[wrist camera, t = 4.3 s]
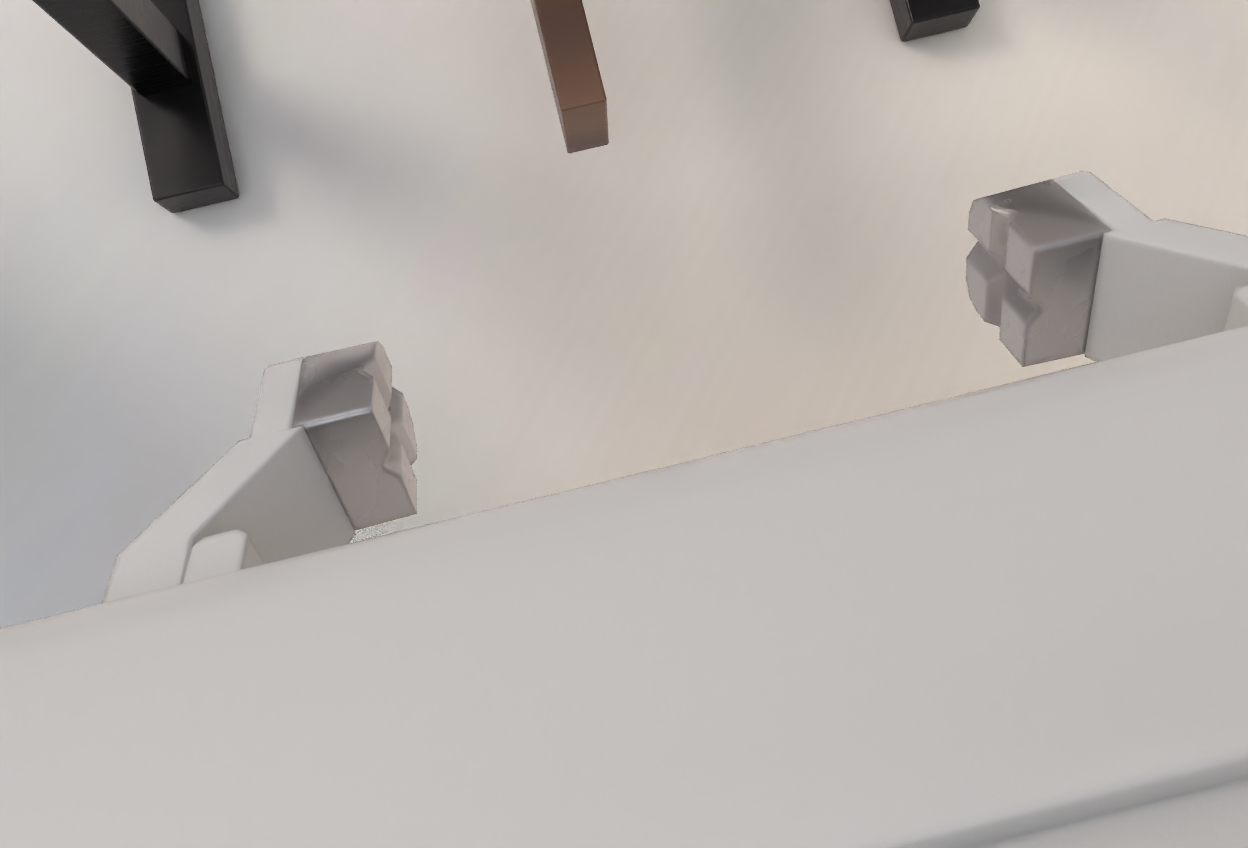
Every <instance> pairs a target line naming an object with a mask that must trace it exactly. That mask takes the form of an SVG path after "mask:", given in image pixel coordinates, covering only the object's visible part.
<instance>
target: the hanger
mask: <svg viewBox="0 0 1248 848" xmlns="http://www.w3.org/2000/svg"><path fill="white" fill-rule="evenodd" d="M531 4H532V8H533V12H534V16H535V20H536V24H537V28H538V33H539V37H540V41H541V45H542V49H543V53H544V57H545V61H546V65H547V70H548V74H549V78H550V82H551V86H552V90H553V94H554V98H555V102H556V107H557V111H558V115H559V119H560V123H561V127H562V131H563V135H564V139H565V144H566V148H567V152H568V153H573V152H577V151H582V150H586V149H590V148H594V147H599V146H603V145H607V144H608V143H609V139H608V121H607V102H606V96H605V92H604V88H603V84H602V80H601V76H600V72H599V68H598V64H597V59H596V55H595V51H594V47H593V43H592V39H591V35H590V31H589V27H588V23H587V19H586V15H585V11H584V7H583V3H582V0H531Z"/></svg>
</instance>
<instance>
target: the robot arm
mask: <svg viewBox="0 0 1248 848" xmlns="http://www.w3.org/2000/svg"><path fill="white" fill-rule="evenodd" d="M968 230H969V231H970V232H971V233H972V234H973V235H974V237H975V238H976V239H977V240H978V242H977V243H976V245H975V246H974V248H973V249H972V251H971V252H970V254H969V255H968V256H967V258H966V282H967V286H968V291H969V296H970V299H971V301H972V303H973V305H974V308H975V310H976V311H977V313H978V314H979V315H980V316H981V318H982V319H983V320H984V321H985V322H988V323H990V324H993V325H996V326H999V327H1000V339H999V340H1000V341H1001V342H1002V343H1003V344H1004V345H1005V347H1006V348H1007V349H1008V350H1009V351H1010V352H1011V354H1012V355H1013V356H1014V357H1015V358H1016V360H1017V361H1018V362H1019V363H1020V364H1021V365H1022V367H1024V366H1029V365H1034V364H1038V363H1043V362H1048V361H1052V360H1057V359H1062V358H1066V357H1071V356H1075V355H1080V354H1085V357H1088V358H1090V359H1092V360H1094V361H1096V362H1095V363H1091V364H1086V365H1082V366H1078V367H1074V368H1070V369H1066V370H1062V371H1058V372H1054V373H1049V374H1045V375H1041V376H1037V377H1033V378H1029V379H1025V380H1021V381H1016V382H1012V383H1008V384H1004V385H1000V386H996V387H992V388H988V389H984V390H979V391H975V392H971V393H967V394H963V395H959V396H955V397H951V398H947V399H942V400H938V401H934V402H930V403H926V404H922V405H918V406H914V407H909V408H905V409H901V410H897V411H893V412H889V413H885V414H881V415H877V416H872V417H868V418H864V419H860V420H856V421H852V422H848V423H844V424H839V425H835V426H831V427H827V428H823V429H819V430H815V431H811V432H807V433H802V434H798V435H794V436H790V437H786V438H782V439H778V440H774V441H769V442H765V443H761V444H757V445H753V446H749V447H745V448H741V449H736V450H732V451H728V452H724V453H720V454H716V455H712V456H708V457H704V458H699V459H695V460H691V461H687V462H683V463H679V464H675V465H671V466H666V467H662V468H658V469H654V470H650V471H646V472H642V473H638V474H634V475H629V476H625V477H621V478H617V479H613V480H609V481H605V482H601V483H596V484H592V485H588V486H584V487H580V488H576V489H572V490H568V491H563V492H559V493H555V494H551V495H547V496H543V497H539V498H535V499H531V500H526V501H522V502H518V503H514V504H510V505H506V506H502V507H498V508H493V509H489V510H485V511H481V512H477V513H473V514H469V515H465V516H460V517H456V518H452V519H448V520H444V521H440V522H436V523H432V524H428V525H423V526H419V527H415V528H411V529H407V530H403V531H399V532H395V533H391V534H386V535H382V536H378V537H374V538H370V539H366V540H362V541H358V542H353V543H350V541H351V540H352V538H353V537H354V535H355V534H356V533H355V530H358V529H362V528H366V527H369V526H373V525H377V524H380V523H384V522H388V521H392V520H395V519H399V518H403V517H406V516H410V515H414V514H417V479H416V477H415V474H414V472H413V469H412V467H411V465H412V464H413V463H414V461H415V460H416V459H417V444H416V438H415V432H414V427H413V422H412V419H411V416H410V412H409V409H408V406H407V404H406V401H405V398H404V396H403V393H401V392H400V391H398V390H396V389H395V388H393V387H392V366H391V364H390V361H389V359H388V357H387V355H386V352H385V350H384V348H383V346H382V345H381V344H380V343H379V342H378V341H377V342H372V343H367V344H363V345H358V346H354V347H349V348H345V349H340V350H335V351H331V352H326V353H322V354H317V355H313V356H308V357H306V358H303V357H301V358H297V359H293V360H290V361H286V362H282V363H278V364H274V365H270V366H269V367H267V368H266V369H265V370H264V374H263V378H262V383H261V388H260V392H259V397H258V402H257V406H256V411H255V416H254V421H253V425H252V430H251V435H250V438H249V439H245V440H241V441H238V442H237V443H236V444H235V445H234V446H233V447H232V448H231V449H230V450H229V451H228V452H227V453H226V454H225V455H224V456H223V457H221V458H220V459H219V460H218V461H217V462H216V463H215V464H214V465H213V466H212V467H211V468H210V469H209V470H208V471H207V472H206V473H204V474H203V475H202V476H201V477H200V478H199V479H198V480H197V481H196V482H195V483H194V484H193V485H192V486H191V487H190V488H189V489H187V490H186V491H185V492H184V493H183V494H182V495H181V496H180V497H179V498H178V499H177V500H176V501H175V502H174V503H173V504H171V505H170V506H169V507H168V508H167V509H166V510H165V511H164V512H163V513H162V514H161V515H160V516H159V517H158V518H157V519H156V520H154V521H153V522H152V523H151V524H150V525H149V526H148V527H147V528H146V529H145V530H144V531H143V532H142V533H141V534H140V535H139V536H137V537H136V538H135V539H134V540H133V541H132V542H131V543H130V544H129V545H128V546H127V547H126V548H125V549H124V550H123V551H122V552H120V553H119V554H118V555H117V558H116V561H115V564H114V567H113V570H112V573H111V576H110V579H109V582H108V585H107V588H106V591H105V594H104V597H103V600H102V603H101V604H98V605H94V606H89V607H85V608H81V609H77V610H73V611H69V612H65V613H61V614H56V615H52V616H48V617H44V618H40V619H36V620H32V621H28V622H23V623H19V624H15V625H11V626H7V627H3V628H0V848H1248V236H1245V235H1240V234H1235V233H1231V232H1226V231H1221V230H1216V229H1212V228H1207V227H1202V226H1197V225H1193V224H1188V223H1183V222H1178V221H1174V220H1169V219H1161V220H1156V221H1152V220H1151V219H1150V218H1149V217H1147V216H1146V215H1145V214H1143V213H1142V212H1141V211H1140V210H1138V209H1137V208H1136V207H1134V206H1133V205H1132V204H1131V203H1129V202H1128V201H1127V200H1125V199H1124V198H1123V197H1122V196H1120V195H1119V194H1118V193H1117V192H1115V191H1114V190H1113V189H1111V188H1110V187H1109V186H1108V185H1106V184H1105V183H1104V182H1102V181H1101V180H1100V179H1099V178H1097V177H1096V176H1095V175H1093V174H1092V173H1091V172H1085V171H1079V172H1075V173H1072V174H1068V175H1065V176H1061V177H1058V178H1054V179H1050V180H1047V181H1043V182H1039V183H1035V184H1032V185H1028V186H1024V187H1020V188H1017V189H1013V190H1009V191H1005V192H1002V193H998V194H994V195H990V196H986V197H983V198H979V199H976V200H973V202H972V205H971V208H970V211H969V222H968Z"/></svg>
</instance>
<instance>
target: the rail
mask: <svg viewBox="0 0 1248 848" xmlns="http://www.w3.org/2000/svg"><path fill="white" fill-rule="evenodd" d="M33 1H34V2H35V3H36V4H37V5H38V6H39V7H41V8H42V9H43V10H44V11H45V12H46V13H47V14H49V15H50V16H51V17H52V18H53V19H54V20H55V21H57V22H58V23H59V24H60V25H61V26H62V27H63V28H65V29H66V30H67V31H68V32H69V33H70V34H71V35H73V36H74V37H75V38H76V39H77V40H78V41H79V42H81V43H82V44H83V45H84V46H85V47H86V48H87V49H89V50H90V51H91V52H92V53H93V54H94V55H95V56H97V57H98V58H99V59H100V60H101V61H102V62H103V63H104V64H106V65H107V66H108V67H109V68H110V69H111V70H112V71H114V72H115V73H116V74H117V75H118V76H119V77H120V78H122V79H123V80H124V81H125V82H126V83H127V84H128V85H130V86H131V90H132V95H133V100H134V105H135V110H136V115H137V120H138V125H139V130H140V135H141V140H142V145H143V150H144V155H145V160H146V165H147V170H148V175H149V180H150V185H151V190H152V195H153V200H154V201H155V202H157V203H158V204H159V205H161V206H162V207H164V208H165V209H167V210H168V211H170V212H171V213H175V212H179V211H184V210H188V209H192V208H196V207H201V206H205V205H209V204H213V203H218V202H222V201H226V200H230V199H235V198H238V197H239V194H238V189H237V184H236V179H235V175H234V170H233V165H232V160H231V155H230V151H229V146H228V141H227V136H226V131H225V126H224V122H223V117H222V112H221V107H220V102H219V98H218V93H217V88H216V83H215V78H214V73H213V69H212V64H211V59H210V54H209V49H208V45H207V40H206V35H205V30H204V25H203V20H202V16H201V11H200V6H199V1H198V0H33ZM890 2H891V6H892V9H893V13H894V16H895V20H896V23H897V27H898V30H899V34H900V38H901V41H903V42H904V41H908V40H913V39H917V38H921V37H925V36H930V35H934V34H938V33H942V32H947V31H951V30H955V29H959V28H964V27H966V26H968V24H969V23H970V21H971V20H972V18H973V17H974V15H975V14H976V12H977V11H978V9H979V8H980V5H979V1H978V0H890Z"/></svg>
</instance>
